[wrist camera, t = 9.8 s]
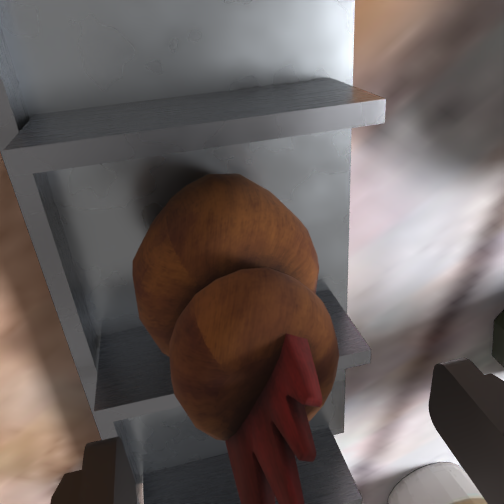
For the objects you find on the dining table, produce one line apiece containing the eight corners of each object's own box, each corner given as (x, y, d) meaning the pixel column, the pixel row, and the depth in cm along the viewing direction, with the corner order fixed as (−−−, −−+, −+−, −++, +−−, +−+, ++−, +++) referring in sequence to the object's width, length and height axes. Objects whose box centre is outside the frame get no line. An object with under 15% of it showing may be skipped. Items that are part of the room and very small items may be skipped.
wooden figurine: (203, 304, 24) (289, 668, 11) (110, 237, 21) (72, 620, 8) (300, 210, 22) (530, 494, 9) (214, 126, 20) (372, 364, 7)
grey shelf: (346, -271, 16) (458, -411, 10) (336, 418, 32) (378, 502, 27) (-111, -270, 13) (-269, -448, 8) (129, 469, 30) (128, 572, 24)
